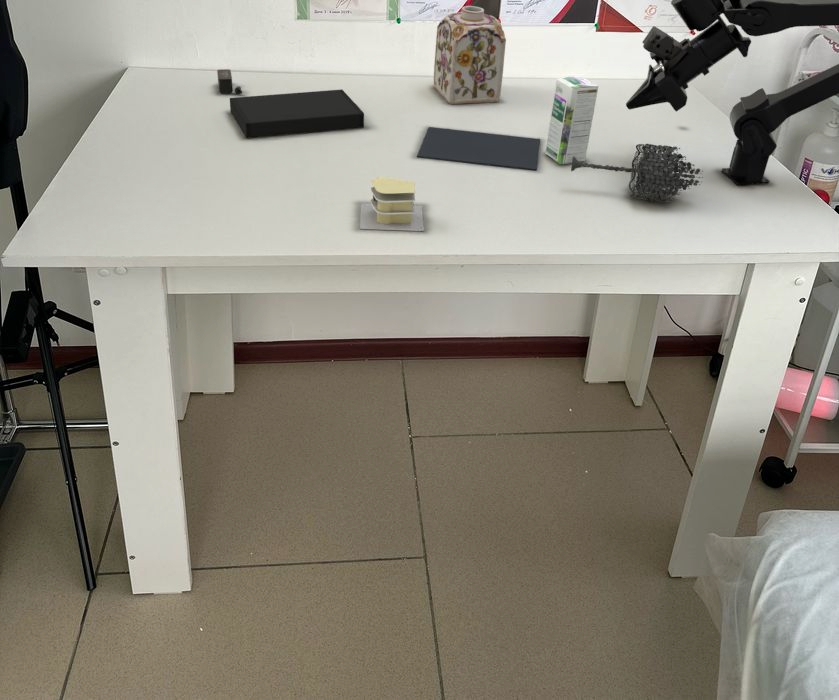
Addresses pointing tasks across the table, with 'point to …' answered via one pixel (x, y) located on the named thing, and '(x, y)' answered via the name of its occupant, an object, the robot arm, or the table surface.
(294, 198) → the table surface
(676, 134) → the table surface
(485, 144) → the mat
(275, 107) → the external hard drive
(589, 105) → the syrup box
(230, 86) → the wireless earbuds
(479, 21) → the decorative jar
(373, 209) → the stacked layers on plate
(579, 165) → the grey chandelier
